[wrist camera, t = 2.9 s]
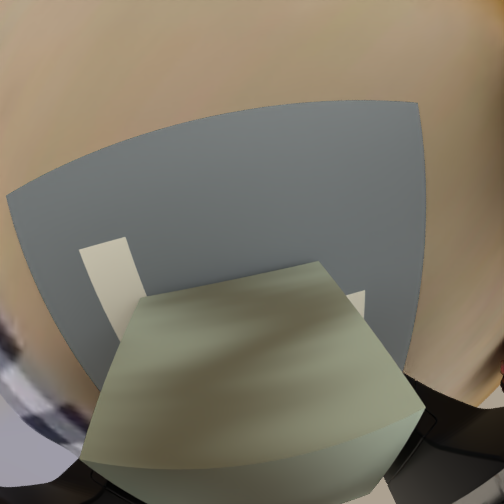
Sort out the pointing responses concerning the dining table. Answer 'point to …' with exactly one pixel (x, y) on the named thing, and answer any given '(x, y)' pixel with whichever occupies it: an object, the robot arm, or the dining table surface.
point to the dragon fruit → (503, 372)
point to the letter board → (232, 216)
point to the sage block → (251, 396)
